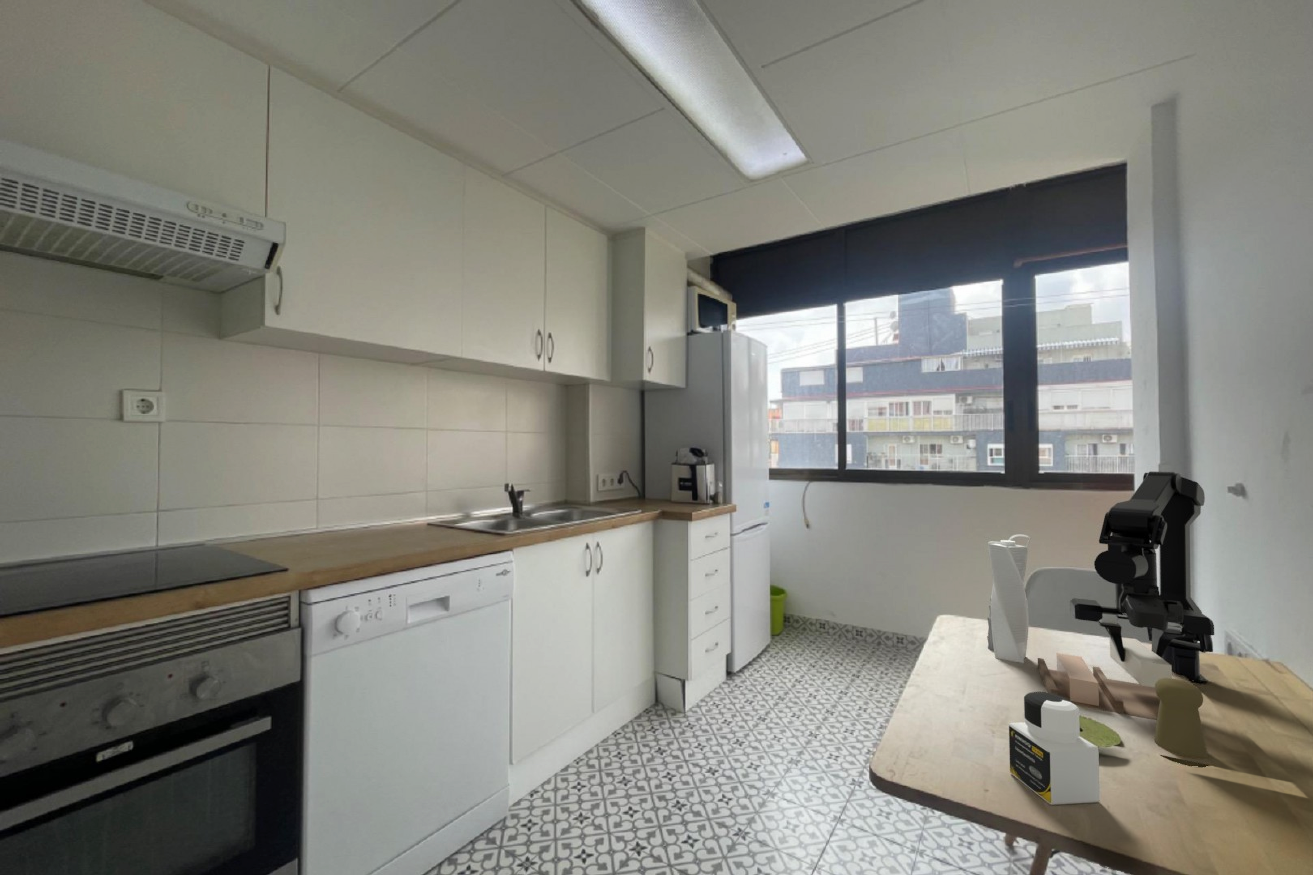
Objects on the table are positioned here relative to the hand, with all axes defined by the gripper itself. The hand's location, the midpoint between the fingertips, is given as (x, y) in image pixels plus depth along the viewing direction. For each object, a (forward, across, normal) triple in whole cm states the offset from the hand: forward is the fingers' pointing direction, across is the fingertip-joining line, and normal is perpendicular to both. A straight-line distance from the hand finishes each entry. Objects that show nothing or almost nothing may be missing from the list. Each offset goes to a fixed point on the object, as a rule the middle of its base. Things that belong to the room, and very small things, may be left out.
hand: (1138, 663), depth 96 cm
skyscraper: (+8, -19, +13) cm, 24 cm away
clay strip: (+2, 0, 0) cm, 2 cm away
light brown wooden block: (+6, -9, 0) cm, 11 cm away
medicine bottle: (+8, -18, -37) cm, 42 cm away
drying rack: (+8, -5, 0) cm, 9 cm away
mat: (+8, -12, -20) cm, 25 cm away
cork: (+8, 0, -18) cm, 20 cm away
